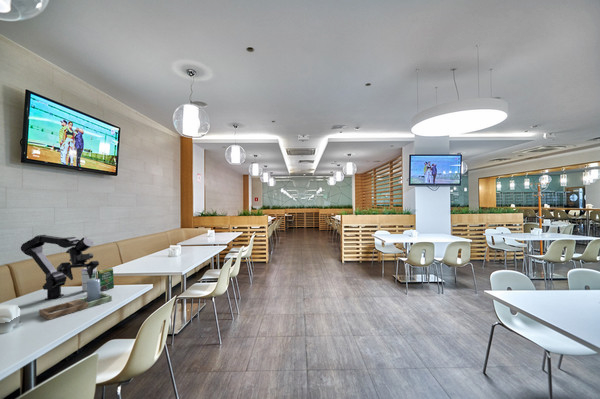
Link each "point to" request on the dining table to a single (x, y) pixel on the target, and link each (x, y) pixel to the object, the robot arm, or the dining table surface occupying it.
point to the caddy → (72, 306)
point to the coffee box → (106, 279)
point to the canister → (93, 290)
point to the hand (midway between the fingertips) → (81, 278)
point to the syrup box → (87, 277)
